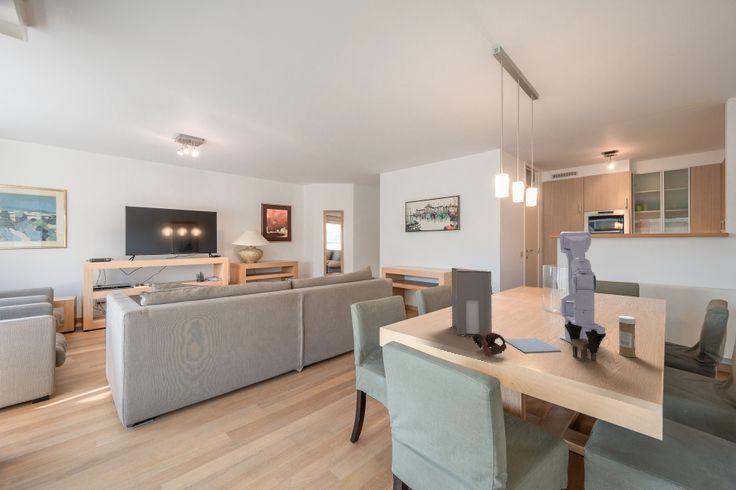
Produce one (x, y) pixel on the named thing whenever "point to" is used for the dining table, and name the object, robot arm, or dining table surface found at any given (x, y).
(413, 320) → the dining table surface
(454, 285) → the cabinet
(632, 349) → the sprinkles bottle
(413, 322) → the dining table surface
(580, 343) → the walnut stool
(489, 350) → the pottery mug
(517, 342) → the felt mat
